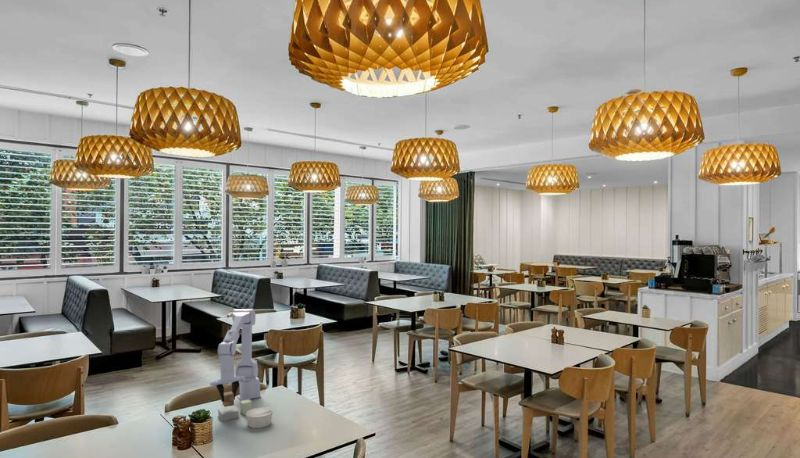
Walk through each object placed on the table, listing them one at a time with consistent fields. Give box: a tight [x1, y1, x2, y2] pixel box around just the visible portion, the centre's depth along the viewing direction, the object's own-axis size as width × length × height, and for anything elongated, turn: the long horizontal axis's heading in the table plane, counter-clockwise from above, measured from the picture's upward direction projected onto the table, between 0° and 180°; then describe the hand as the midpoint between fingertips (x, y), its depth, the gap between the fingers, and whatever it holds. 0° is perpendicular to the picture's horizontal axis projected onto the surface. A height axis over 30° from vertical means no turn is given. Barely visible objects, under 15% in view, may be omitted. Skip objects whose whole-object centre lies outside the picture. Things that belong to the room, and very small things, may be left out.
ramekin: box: [245, 406, 274, 429], centre depth 209 cm, size 11×11×5 cm
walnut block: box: [222, 390, 235, 408], centre depth 218 cm, size 4×4×5 cm
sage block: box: [239, 399, 253, 416], centre depth 223 cm, size 4×4×5 cm
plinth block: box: [217, 405, 240, 422], centre depth 218 cm, size 7×7×3 cm
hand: (228, 400), depth 218 cm, fingers closed on walnut block, 4 cm apart
